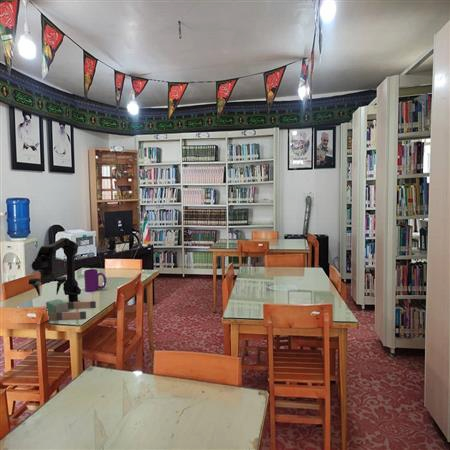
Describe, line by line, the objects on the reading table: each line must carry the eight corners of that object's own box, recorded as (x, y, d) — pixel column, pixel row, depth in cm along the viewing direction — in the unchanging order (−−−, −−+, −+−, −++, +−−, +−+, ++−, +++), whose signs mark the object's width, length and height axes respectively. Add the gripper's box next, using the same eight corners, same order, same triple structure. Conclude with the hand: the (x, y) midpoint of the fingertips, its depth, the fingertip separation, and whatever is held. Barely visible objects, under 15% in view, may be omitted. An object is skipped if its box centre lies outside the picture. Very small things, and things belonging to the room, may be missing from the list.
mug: (88, 288, 264) (87, 269, 263) (108, 288, 264) (107, 268, 263) (83, 292, 255) (82, 271, 254) (104, 292, 255) (103, 271, 254)
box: (58, 310, 217) (58, 298, 216) (68, 315, 208) (68, 302, 207) (46, 313, 211) (45, 301, 211) (56, 318, 203) (55, 306, 202)
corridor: (56, 308, 219) (55, 302, 219) (95, 307, 221) (95, 301, 220) (42, 320, 199) (41, 313, 199) (85, 318, 201) (85, 312, 201)
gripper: (25, 271, 191) (26, 299, 191) (63, 269, 197) (64, 297, 197) (30, 268, 202) (31, 295, 202) (66, 266, 207) (66, 292, 208)
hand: (48, 295), depth 202 cm, fingers open, 9 cm apart
